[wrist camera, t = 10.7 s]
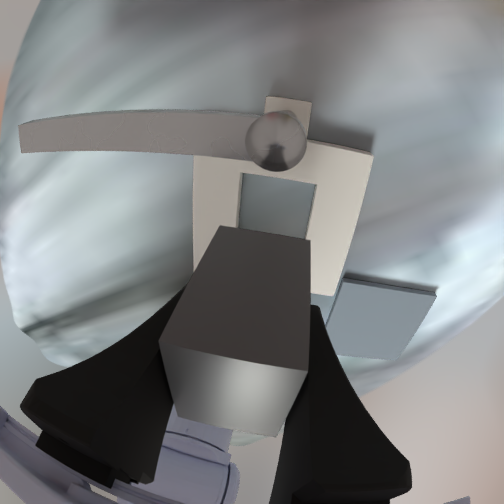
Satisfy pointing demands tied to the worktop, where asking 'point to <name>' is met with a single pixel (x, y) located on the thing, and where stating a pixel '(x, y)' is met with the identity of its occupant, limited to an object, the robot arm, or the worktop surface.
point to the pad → (375, 318)
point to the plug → (241, 332)
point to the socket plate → (307, 170)
